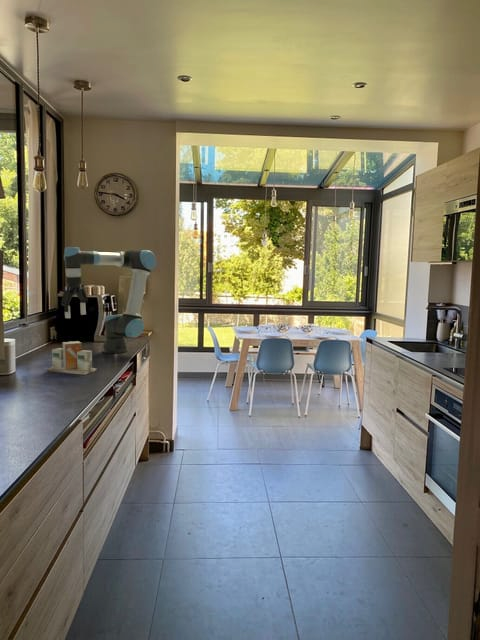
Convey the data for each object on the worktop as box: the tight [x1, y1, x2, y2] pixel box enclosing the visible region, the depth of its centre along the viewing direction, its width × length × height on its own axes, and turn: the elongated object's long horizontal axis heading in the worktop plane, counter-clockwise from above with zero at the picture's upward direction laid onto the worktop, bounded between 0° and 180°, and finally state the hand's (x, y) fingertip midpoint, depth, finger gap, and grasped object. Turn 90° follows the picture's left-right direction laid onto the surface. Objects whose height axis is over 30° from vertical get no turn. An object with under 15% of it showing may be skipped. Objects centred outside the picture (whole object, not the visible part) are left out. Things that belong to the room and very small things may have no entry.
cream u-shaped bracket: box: [47, 347, 98, 375], centre depth 225 cm, size 10×22×11 cm, turn 73°
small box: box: [62, 340, 83, 369], centre depth 224 cm, size 8×6×13 cm
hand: (75, 316), depth 236 cm, fingers open, 13 cm apart
